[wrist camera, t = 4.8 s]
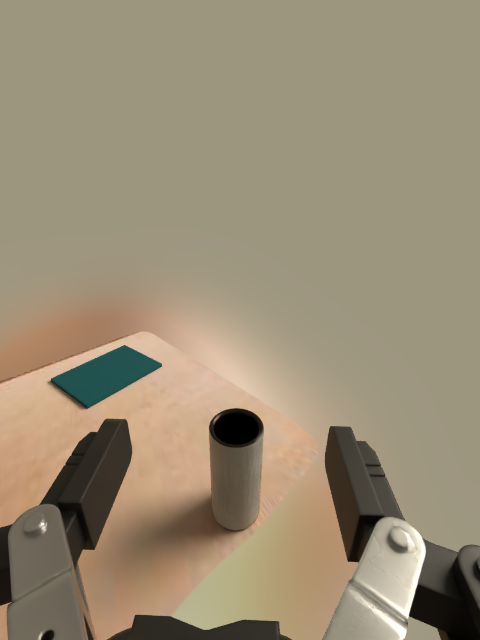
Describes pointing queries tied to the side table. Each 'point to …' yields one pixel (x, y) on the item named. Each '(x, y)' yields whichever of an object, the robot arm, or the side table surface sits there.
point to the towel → (105, 375)
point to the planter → (236, 467)
